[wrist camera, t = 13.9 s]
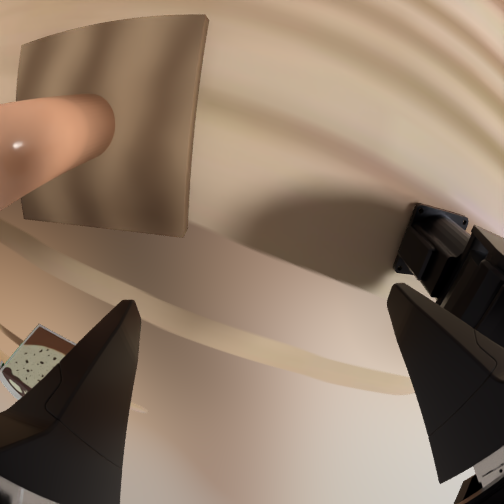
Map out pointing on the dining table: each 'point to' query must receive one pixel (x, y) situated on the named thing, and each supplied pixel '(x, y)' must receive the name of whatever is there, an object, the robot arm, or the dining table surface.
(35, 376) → the food container
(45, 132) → the terracotta cylinder
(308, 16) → the dining table surface
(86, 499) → the robot arm
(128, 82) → the tan flat square block
